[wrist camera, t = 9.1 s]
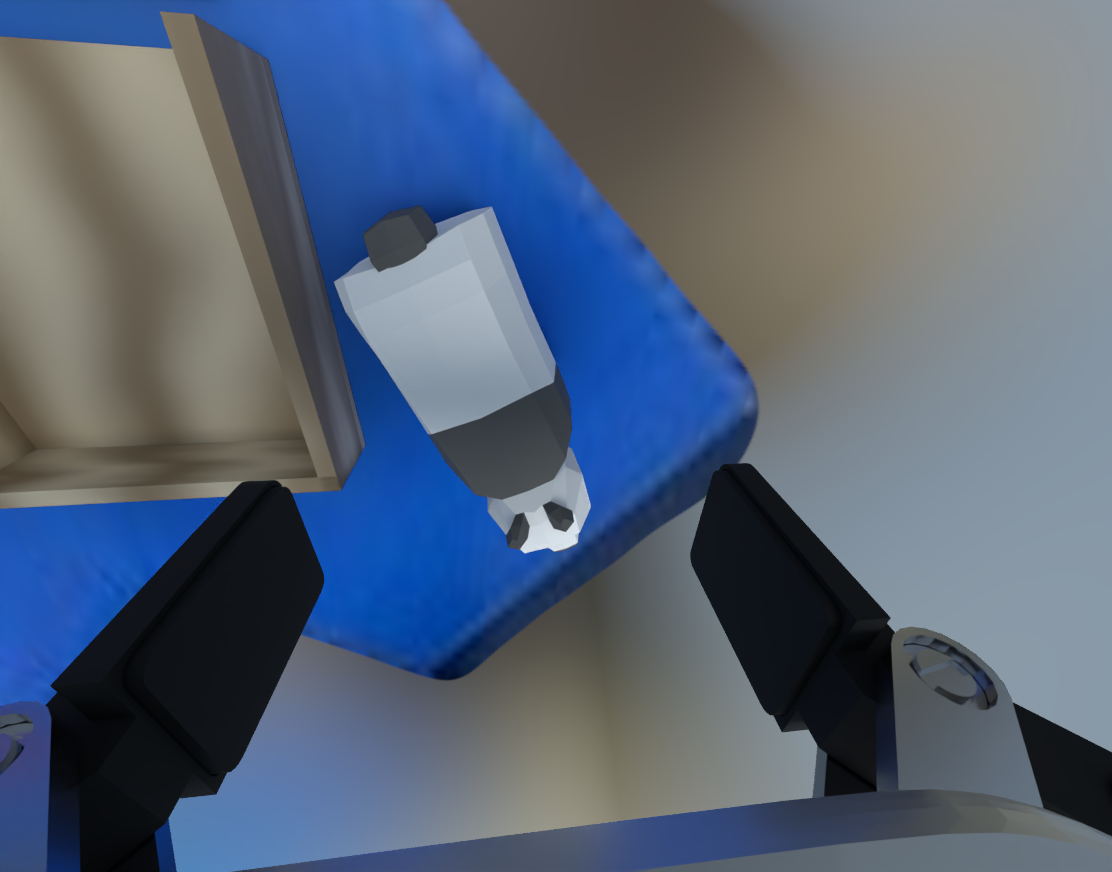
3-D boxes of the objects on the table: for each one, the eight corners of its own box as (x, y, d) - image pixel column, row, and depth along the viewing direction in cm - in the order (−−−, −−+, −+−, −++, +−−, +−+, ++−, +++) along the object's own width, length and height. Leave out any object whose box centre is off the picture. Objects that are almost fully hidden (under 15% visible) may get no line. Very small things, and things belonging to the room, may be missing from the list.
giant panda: (364, 235, 17) (241, 268, 9) (482, 179, 16) (468, 160, 8) (508, 482, 24) (515, 623, 16) (592, 449, 24) (642, 577, 16)
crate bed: (38, 458, 20) (-56, 511, 17) (-295, 19, 12) (-611, -53, 9) (365, 445, 22) (341, 490, 18) (268, 59, 14) (193, 14, 10)
